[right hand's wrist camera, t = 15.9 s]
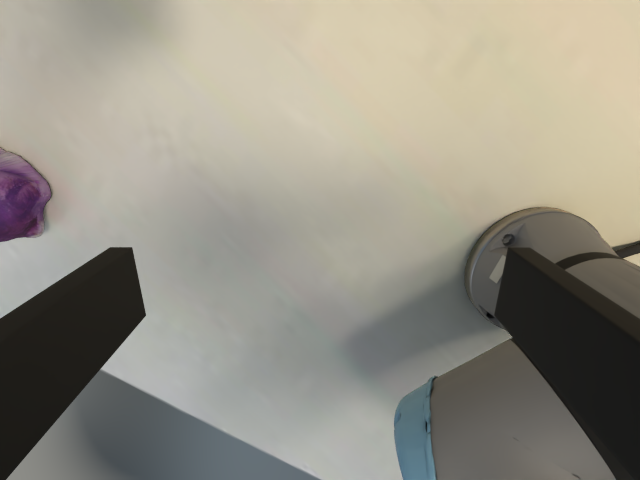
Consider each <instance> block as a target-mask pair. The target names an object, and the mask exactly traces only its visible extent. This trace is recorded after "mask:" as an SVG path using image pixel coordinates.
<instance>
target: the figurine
mask: <svg viewBox="0 0 640 480" xmlns="http://www.w3.org/2000/svg"><path fill="white" fill-rule="evenodd" d="M50 197H51V191H50V188H49V184H48V183H47V181H46V180H45V179H44V178H43V177H42V176H41V175H40V174H39V173H38V172H37V171H36V170H35V169H34V168H33V167H32V166H31V165H30V164H29V163H27V162H26V161H25V160H23V159H22V158H21V157H20V156H18V155H15V154H13V153H10V152H6V151H4V150H3V149H1V148H0V242H3V241H8V240H12V239H15V238H20V237H32V238H35V237H39V236H41V235H42V233H43V231H44V218H43V209H44V206H45V205H46V202H47V201H48V200H49V199H50Z"/></svg>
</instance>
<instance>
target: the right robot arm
mask: <svg viewBox="0 0 640 480" xmlns="http://www.w3.org/2000/svg"><path fill="white" fill-rule="evenodd" d="M638 253H640V243H639V244H636V245H633V246H629V247H626V248H623V249H620V250H617V251H614V250H613V249H612V248H611V247H610V246H609V245H608V244H607V243H606V242H605V241H604V239H603V238H602V237H601V236H600V234H599V233H598V231H597V230H596V229H595V228H594V227H593V226H592V225H591V224H590V223H589V222H587V221H586V220H584V219H582V218H580V217H578V216H576V215H573V214H571V213H569V212H566V211H563V210H560V209H556V208H547V207H540V208H531V209H526V210H522V211H519V212H516V213H514V214H511V215H509V216H507V217H505V218H503V219H502V220H500V221H499V222H497V223H496V224H494V225H493V226H492V227H491V228H490V229H488V230H487V231H486V232H485V233H484V234H483V235H482V236H481V238H480V239H479V240H478V241H477V243H476V244H475V246H474V247H473V249H472V251H471V253H470V255H469V258H468V261H467V264H466V268H465V287H466V291H467V294H468V296H469V298H470V300H471V301H472V303H473V304H474V306H475V307H476V308H477V309H478V311H479V312H480V313H481V314H482V315H483V316H484V317H485V318H486V319H487V320H488V321H490V322H491V323H493V324H495V325H497V326H499V327H501V328H503V329H505V330H506V331H508V332H509V334H510V335H511V336H512V337H513V338H511V339H509V340H507V341H505V342H503V343H501V344H499V345H498V346H496V347H494V348H492V349H490V350H488V351H487V352H485V353H483V354H481V355H479V356H477V357H476V358H474V359H472V360H470V361H468V362H466V363H464V364H462V365H460V366H458V367H457V368H455V369H453V370H451V371H449V372H447V373H445V374H443V375H441V376H439V377H437V376H433V377H432V378H430V379H429V381H428V382H427V383H426V384H424V385H423V386H421V387H419V388H418V389H416V390H414V391H413V392H411V393H409V394H408V395H406V396H405V397H404V398H403V399H402V400H401V401H400V402H399V404H398V406H397V409H396V412H395V418H394V428H395V430H394V436H395V444H396V451H397V456H398V461H399V465H400V469H401V473H402V477H403V480H640V267H639V266H637V265H635V264H633V263H631V262H629V261H627V260H625V259H623V258H625V257H628V256H631V255H634V254H638ZM145 316H146V313H145V308H144V303H143V298H142V294H141V289H140V284H139V279H138V274H137V269H136V264H135V259H134V254H133V249H132V247H110V248H109V249H107V250H105V251H104V252H102V253H101V254H99V255H98V256H96V257H95V258H93V259H92V260H90V261H88V262H87V263H85V264H84V265H82V266H81V267H79V268H78V269H76V270H75V271H73V272H72V273H70V274H68V275H67V276H65V277H64V278H62V279H61V280H59V281H58V282H56V283H55V284H53V285H51V286H50V287H48V288H47V289H45V290H44V291H42V292H41V293H39V294H38V295H36V296H34V297H33V298H31V299H30V300H28V301H27V302H25V303H24V304H22V305H21V306H19V307H18V308H16V309H14V310H13V311H11V312H10V313H8V314H7V315H5V316H4V317H2V318H1V319H0V480H6V479H7V478H8V477H9V475H10V474H11V473H12V472H13V471H14V470H15V468H16V467H17V466H18V465H19V464H20V462H21V461H22V460H23V459H24V458H25V457H26V455H27V454H28V453H29V452H30V451H31V450H32V448H33V447H34V446H35V445H36V444H37V443H38V441H39V440H40V439H41V438H42V437H43V436H44V434H45V433H46V432H47V431H48V430H49V428H50V427H51V426H52V425H53V424H54V423H55V421H56V420H57V419H58V418H59V417H60V416H61V414H62V413H63V412H64V411H65V410H66V408H67V407H68V406H69V405H70V404H71V403H72V402H73V400H74V399H75V398H76V397H77V396H78V395H79V393H80V392H81V391H82V390H83V389H84V387H85V386H86V385H87V384H88V383H89V382H90V380H91V379H92V378H93V377H94V376H95V375H96V373H97V372H98V371H99V370H100V369H101V368H102V366H103V365H104V364H105V363H106V362H107V361H108V359H109V358H110V357H111V356H112V355H113V353H114V352H115V351H116V350H117V349H118V348H119V346H120V345H121V344H122V343H123V342H124V341H125V339H126V338H127V337H128V336H129V335H130V334H131V332H132V331H133V330H134V329H135V328H136V327H137V325H138V324H139V323H140V322H141V321H142V319H143V318H144V317H145Z"/></svg>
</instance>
